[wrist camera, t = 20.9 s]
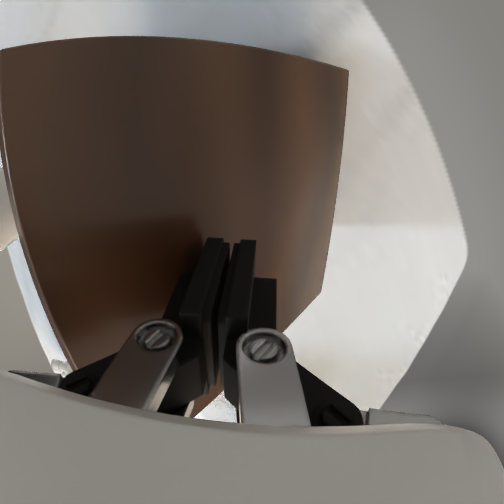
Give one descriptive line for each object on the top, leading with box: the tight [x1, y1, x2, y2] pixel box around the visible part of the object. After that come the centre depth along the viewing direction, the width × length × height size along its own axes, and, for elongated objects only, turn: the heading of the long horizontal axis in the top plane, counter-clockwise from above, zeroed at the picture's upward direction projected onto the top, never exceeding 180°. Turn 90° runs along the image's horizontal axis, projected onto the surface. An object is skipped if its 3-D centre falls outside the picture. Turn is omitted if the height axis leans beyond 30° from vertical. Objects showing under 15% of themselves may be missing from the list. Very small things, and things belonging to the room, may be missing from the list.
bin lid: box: [0, 36, 349, 418], centre depth 14 cm, size 17×16×1 cm
